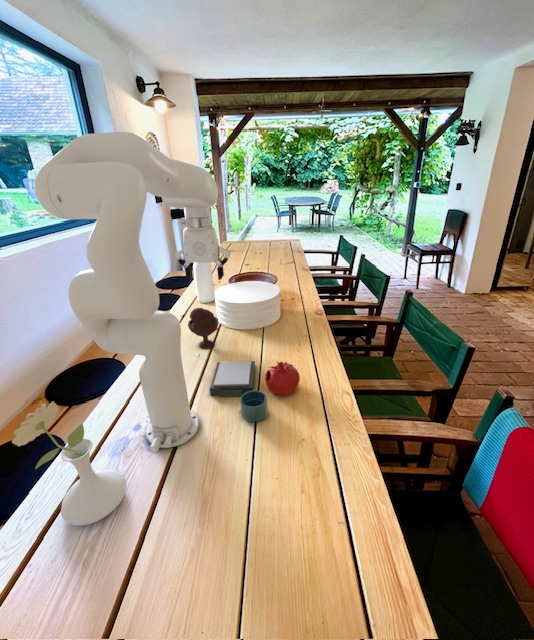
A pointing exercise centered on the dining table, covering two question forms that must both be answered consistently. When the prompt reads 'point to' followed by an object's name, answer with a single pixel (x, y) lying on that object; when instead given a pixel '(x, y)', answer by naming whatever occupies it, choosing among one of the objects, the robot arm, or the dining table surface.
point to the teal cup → (254, 406)
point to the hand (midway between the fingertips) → (205, 278)
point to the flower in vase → (93, 486)
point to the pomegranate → (282, 379)
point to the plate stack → (248, 304)
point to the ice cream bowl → (203, 325)
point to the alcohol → (204, 282)
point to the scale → (233, 378)
